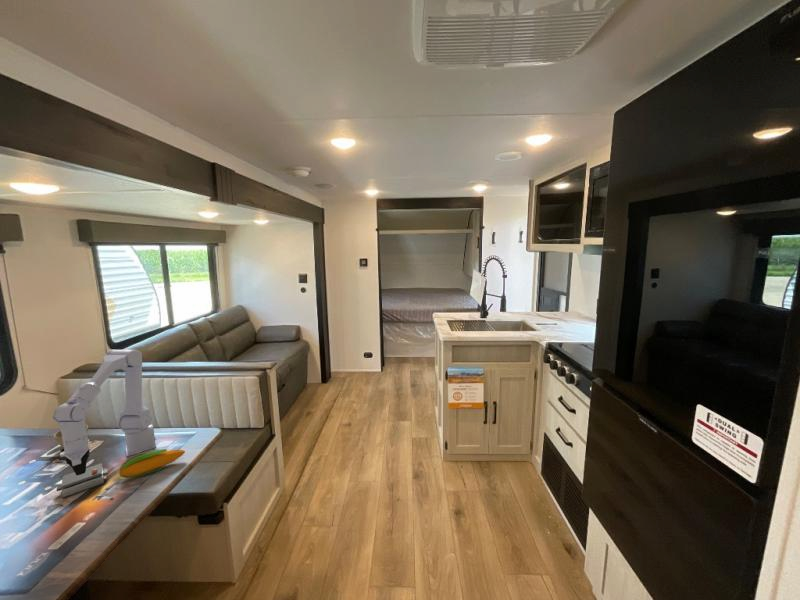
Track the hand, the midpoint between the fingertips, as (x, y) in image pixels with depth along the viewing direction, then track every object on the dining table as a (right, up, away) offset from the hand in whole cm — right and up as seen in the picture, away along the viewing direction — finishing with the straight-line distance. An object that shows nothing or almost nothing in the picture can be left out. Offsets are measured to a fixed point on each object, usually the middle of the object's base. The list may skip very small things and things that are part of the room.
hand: (81, 473), depth 109 cm
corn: (+15, -6, +13) cm, 21 cm away
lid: (-3, -4, +4) cm, 6 cm away
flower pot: (-29, -3, +26) cm, 39 cm away
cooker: (-3, -7, +4) cm, 9 cm away
